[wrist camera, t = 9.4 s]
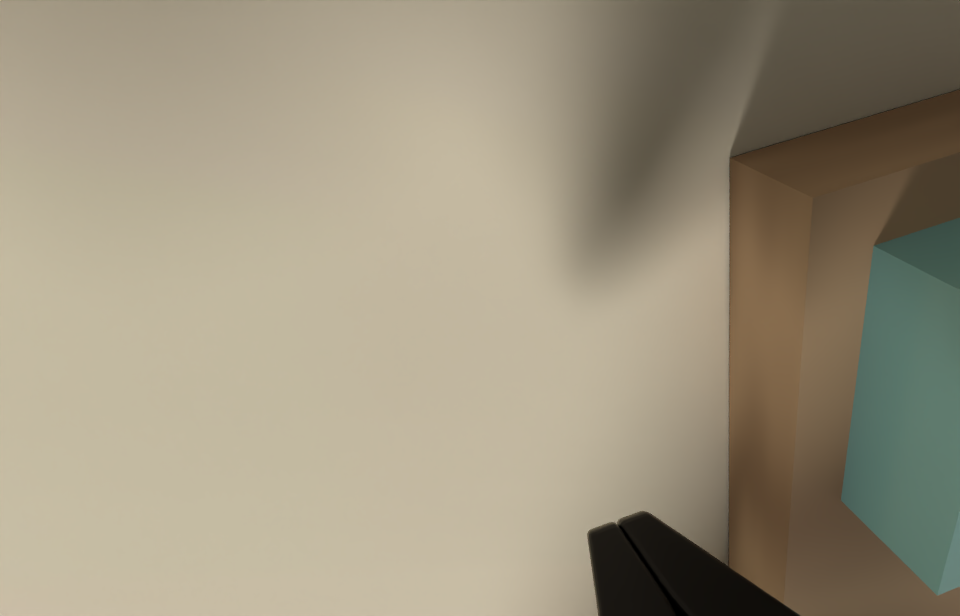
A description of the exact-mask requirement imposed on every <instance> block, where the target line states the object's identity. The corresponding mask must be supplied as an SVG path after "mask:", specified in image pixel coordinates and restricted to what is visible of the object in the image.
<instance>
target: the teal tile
mask: <svg viewBox="0 0 960 616" xmlns="http://www.w3.org/2000/svg"><path fill="white" fill-rule="evenodd" d="M841 501H842V502H843V503H844V504H845V505H846V506H847V507H848V508H849V509H850V510H851V511H852V512H853V513H854V514H855V515H856V516H857V517H858V518H859V519H860V520H861V521H862V522H863V523H864V524H865V525H866V526H867V527H868V528H869V529H870V530H871V531H872V532H873V533H874V534H875V535H876V536H877V537H878V538H879V539H880V540H881V541H882V542H884V543H885V544H886V545H887V546H888V547H889V548H890V549H891V550H892V551H893V552H894V553H895V554H896V555H897V556H898V557H899V558H900V559H901V560H902V561H903V562H904V563H905V564H906V565H907V566H908V567H909V568H910V569H911V570H912V571H913V572H914V573H915V574H916V575H917V576H918V577H919V578H920V579H921V580H922V581H923V582H924V583H925V584H926V585H927V586H928V587H929V588H930V589H931V590H932V591H933V592H934V593H935V594H936V595H937V596H938V595H940V594H943V593H945V592H948V591H950V590H952V589H955V588H957V587H960V218H957V219H954V220H951V221H948V222H945V223H942V224H938V225H935V226H932V227H929V228H926V229H923V230H920V231H917V232H914V233H911V234H908V235H905V236H902V237H899V238H896V239H893V240H889V241H886V242H883V243H880V244H877V245H874V246H873V253H872V261H871V269H870V277H869V284H868V292H867V300H866V308H865V316H864V323H863V331H862V339H861V347H860V355H859V362H858V370H857V378H856V386H855V394H854V401H853V409H852V417H851V425H850V433H849V441H848V448H847V456H846V464H845V472H844V480H843V487H842V495H841Z"/></svg>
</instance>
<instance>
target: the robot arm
mask: <svg viewBox="0 0 960 616" xmlns="http://www.w3.org/2000/svg"><path fill="white" fill-rule="evenodd" d="M587 537H588V544H589V551H590V559H591V566H592V573H593V580H594V587H595V594H596V602H597V609H598V616H801V615H799V614H798V613H796V612H795V611H793V610H792V609H790V608H789V607H787V606H786V605H784V604H783V603H781V602H780V601H778V600H777V599H776V598H774V597H773V596H771V595H770V594H768V593H767V592H765V591H764V590H762V589H761V588H759V587H758V586H756V585H755V584H753V583H752V582H750V581H749V580H748V579H746V578H745V577H743V576H742V575H740V574H739V573H737V572H736V571H734V570H733V569H731V568H730V567H728V566H727V565H725V564H724V563H722V562H721V561H720V560H718V559H717V558H715V557H714V556H712V555H711V554H709V553H708V552H706V551H705V550H703V549H702V548H700V547H699V546H697V545H696V544H695V543H693V542H692V541H690V540H689V539H687V538H686V537H684V536H683V535H681V534H680V533H678V532H677V531H675V530H674V529H672V528H671V527H669V526H668V525H667V524H665V523H664V522H662V521H661V520H659V519H658V518H656V517H655V516H653V515H652V514H650V513H648V512H645V511H640V512H637V513H634V514H632V515H629V516H626V517H624V518H621V519H619V520H618V522H617V524H616V523H614V522H610V523H607V524H604V525H602V526H599V527H596V528H593V529H591V530H589V531H588V534H587Z"/></svg>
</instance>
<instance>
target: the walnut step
mask: <svg viewBox="0 0 960 616" xmlns="http://www.w3.org/2000/svg"><path fill="white" fill-rule="evenodd" d="M957 218H960V90H957V91H953V92H950V93H947V94H943V95H940V96H937V97H933V98H930V99H926V100H923V101H920V102H916V103H913V104H910V105H906V106H903V107H900V108H896V109H893V110H889V111H886V112H883V113H879V114H876V115H873V116H869V117H866V118H863V119H859V120H856V121H852V122H849V123H846V124H842V125H839V126H836V127H832V128H829V129H826V130H822V131H819V132H816V133H812V134H809V135H805V136H802V137H799V138H795V139H792V140H789V141H785V142H782V143H779V144H775V145H772V146H768V147H765V148H762V149H758V150H755V151H752V152H748V153H745V154H742V155H738V156H735V157H732V158H730V379H729V567H730V568H731V569H733V570H734V571H736V572H737V573H739V574H740V575H742V576H743V577H745V578H746V579H748V580H749V581H750V582H752V583H753V584H755V585H756V586H758V587H759V588H761V589H762V590H764V591H765V592H767V593H768V594H770V595H771V596H773V597H774V598H776V599H777V600H778V601H780V602H781V603H783V604H784V605H786V606H787V607H789V608H790V609H792V610H793V611H795V612H796V613H798V614H799V615H801V616H960V587H957V588H955V589H952V590H950V591H948V592H945V593H943V594H940V595H938V596H937V595H936V594H935V593H934V592H933V591H932V590H931V589H930V588H929V587H928V586H927V585H926V584H925V583H924V582H923V581H922V580H921V579H920V578H919V577H918V576H917V575H916V574H915V573H914V572H913V571H912V570H911V569H910V568H909V567H908V566H907V565H906V564H905V563H904V562H903V561H902V560H901V559H900V558H899V557H898V556H897V555H896V554H895V553H894V552H893V551H892V550H891V549H890V548H889V547H888V546H887V545H886V544H885V543H884V542H882V541H881V540H880V539H879V538H878V537H877V536H876V535H875V534H874V533H873V532H872V531H871V530H870V529H869V528H868V527H867V526H866V525H865V524H864V523H863V522H862V521H861V520H860V519H859V518H858V517H857V516H856V515H855V514H854V513H853V512H852V511H851V510H850V509H849V508H848V507H847V506H846V505H845V504H844V503H843V502H842V501H841V495H842V487H843V480H844V472H845V464H846V456H847V448H848V441H849V433H850V425H851V417H852V409H853V401H854V394H855V386H856V378H857V370H858V362H859V355H860V347H861V339H862V331H863V323H864V316H865V308H866V300H867V292H868V284H869V277H870V269H871V261H872V253H873V246H874V245H877V244H880V243H883V242H886V241H889V240H893V239H896V238H899V237H902V236H905V235H908V234H911V233H914V232H917V231H920V230H923V229H926V228H929V227H932V226H935V225H938V224H942V223H945V222H948V221H951V220H954V219H957Z"/></svg>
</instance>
